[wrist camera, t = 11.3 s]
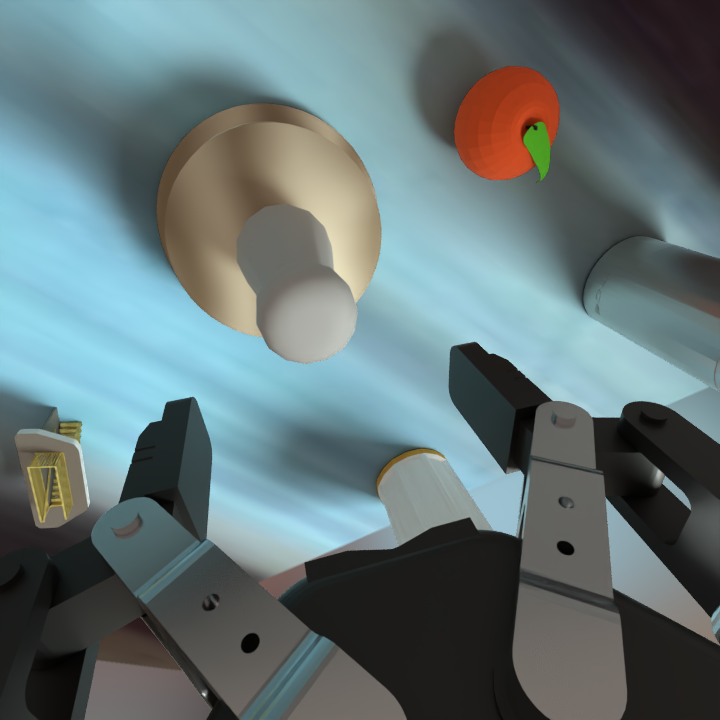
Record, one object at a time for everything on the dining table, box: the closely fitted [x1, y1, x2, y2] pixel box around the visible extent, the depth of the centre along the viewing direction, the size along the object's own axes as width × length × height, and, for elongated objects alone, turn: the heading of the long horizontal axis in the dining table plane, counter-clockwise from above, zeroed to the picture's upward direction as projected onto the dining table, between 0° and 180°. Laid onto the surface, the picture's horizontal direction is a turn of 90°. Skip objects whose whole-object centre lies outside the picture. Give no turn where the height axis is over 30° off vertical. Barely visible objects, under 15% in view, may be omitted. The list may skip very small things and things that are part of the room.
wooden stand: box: [157, 103, 381, 337], centre depth 30 cm, size 16×16×5 cm
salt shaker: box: [237, 204, 358, 364], centre depth 22 cm, size 6×6×13 cm
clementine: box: [454, 66, 560, 183], centre depth 30 cm, size 8×7×7 cm
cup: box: [377, 449, 493, 546], centre depth 43 cm, size 11×11×17 cm
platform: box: [14, 407, 90, 528], centre depth 34 cm, size 12×18×7 cm, turn 169°
